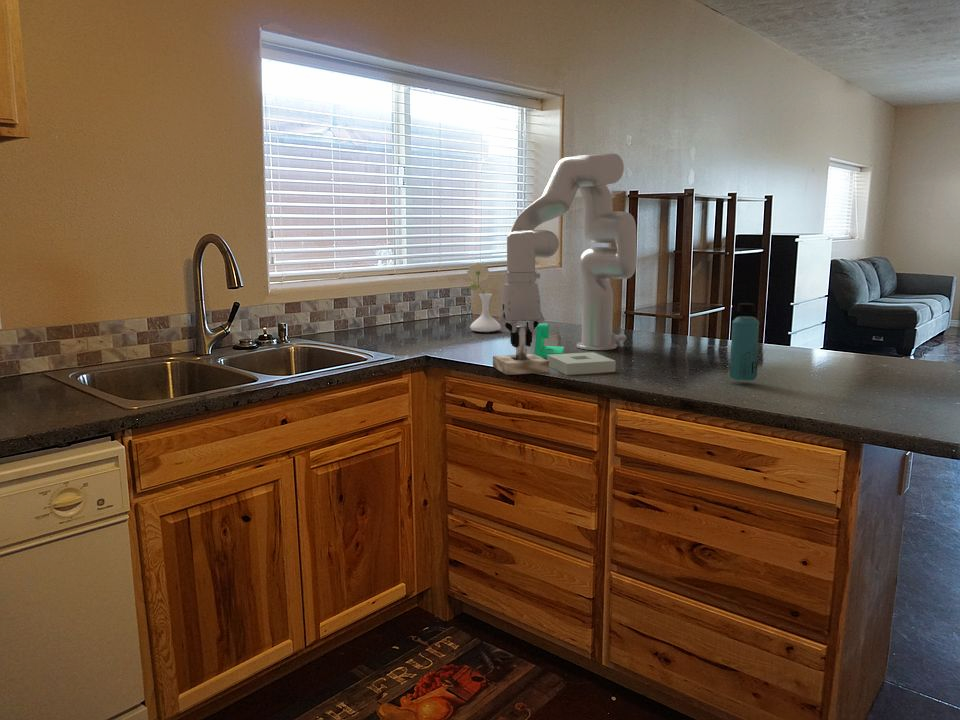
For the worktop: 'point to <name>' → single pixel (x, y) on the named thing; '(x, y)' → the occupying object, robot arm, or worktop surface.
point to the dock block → (581, 363)
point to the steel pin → (521, 343)
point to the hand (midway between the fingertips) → (521, 345)
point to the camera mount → (540, 349)
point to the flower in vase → (485, 320)
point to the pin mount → (520, 364)
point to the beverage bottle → (744, 344)
